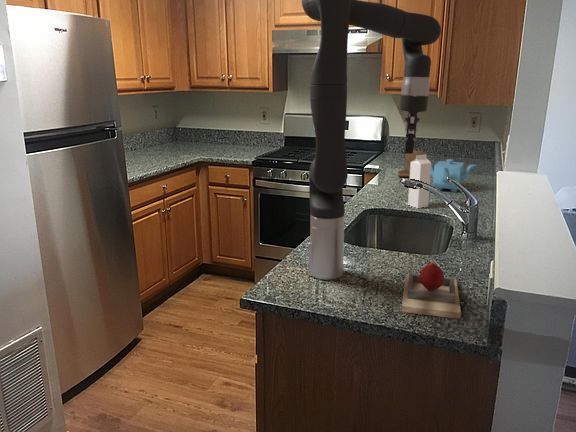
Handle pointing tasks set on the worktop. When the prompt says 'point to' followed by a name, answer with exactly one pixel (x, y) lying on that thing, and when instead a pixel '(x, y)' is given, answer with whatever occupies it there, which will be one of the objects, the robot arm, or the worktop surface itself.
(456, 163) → the teakettle
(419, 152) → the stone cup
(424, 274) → the red rounded piece
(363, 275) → the worktop surface
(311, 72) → the robot arm
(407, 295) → the tray
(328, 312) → the worktop surface
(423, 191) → the milk
